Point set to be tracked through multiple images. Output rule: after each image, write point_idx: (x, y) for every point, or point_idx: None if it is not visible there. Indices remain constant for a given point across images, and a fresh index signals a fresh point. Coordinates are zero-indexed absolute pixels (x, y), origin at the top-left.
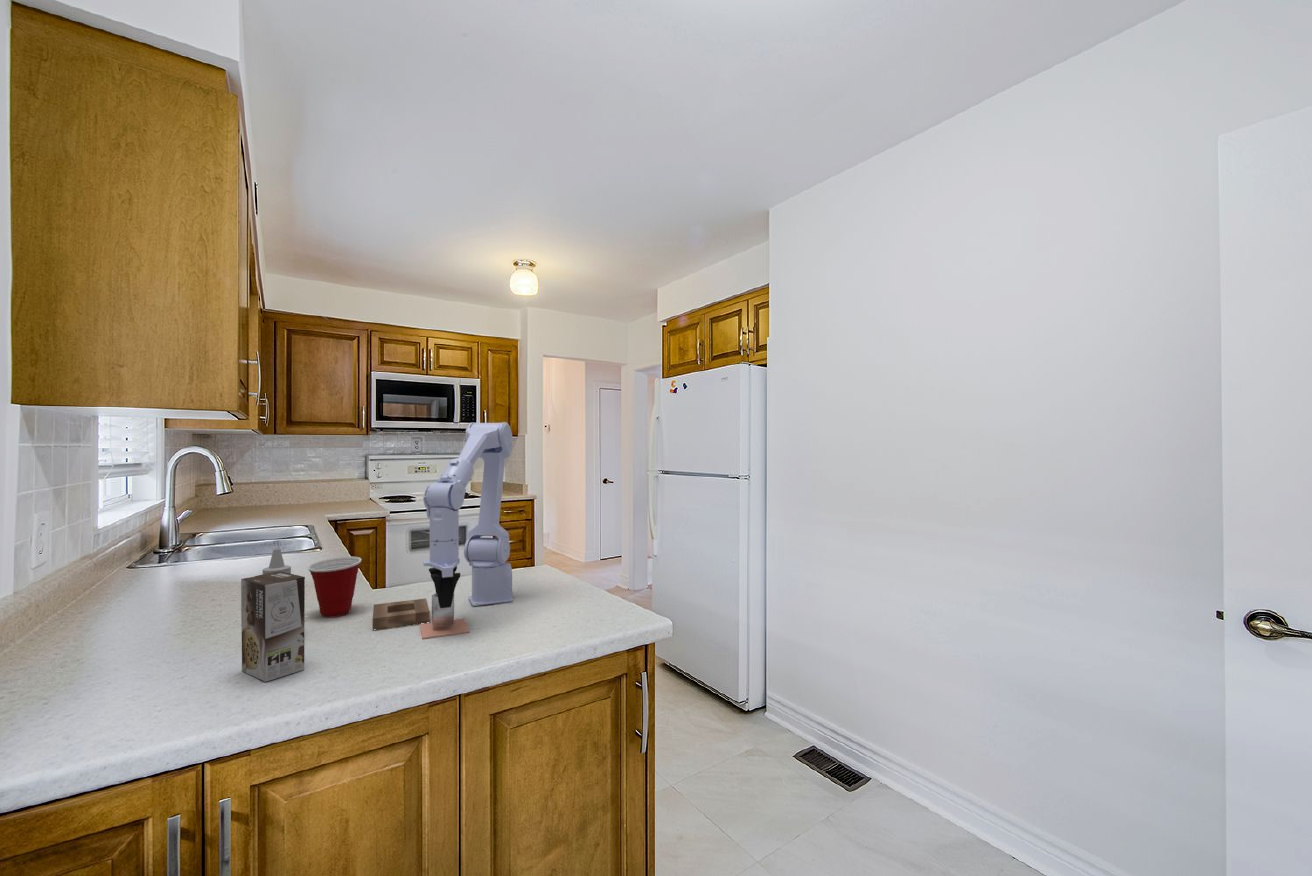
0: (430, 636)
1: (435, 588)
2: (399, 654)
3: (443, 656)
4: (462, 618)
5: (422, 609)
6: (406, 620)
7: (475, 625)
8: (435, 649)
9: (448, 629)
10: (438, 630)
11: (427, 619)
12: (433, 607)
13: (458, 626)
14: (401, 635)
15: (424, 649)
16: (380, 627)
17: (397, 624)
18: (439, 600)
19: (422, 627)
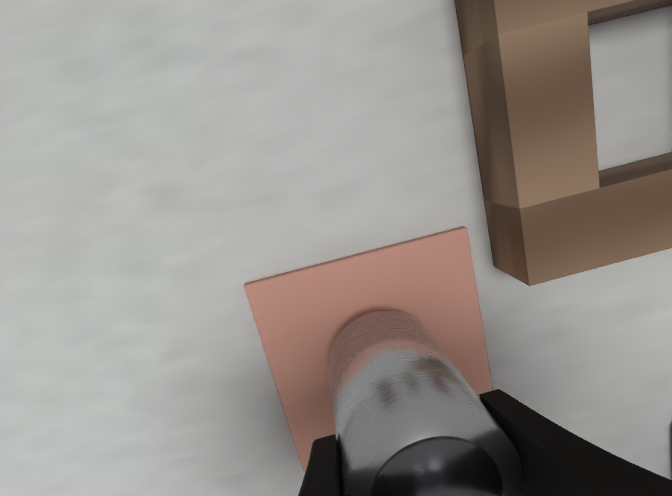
0: (257, 320)
1: (547, 454)
2: (39, 219)
3: (2, 419)
4: None
5: (585, 235)
6: (493, 156)
7: None
8: (97, 369)
9: None
10: None
11: (502, 262)
12: (363, 385)
13: None
14: (331, 163)
15: (101, 321)
16: (462, 11)
17: (477, 107)
18: (301, 488)
19: (408, 252)
